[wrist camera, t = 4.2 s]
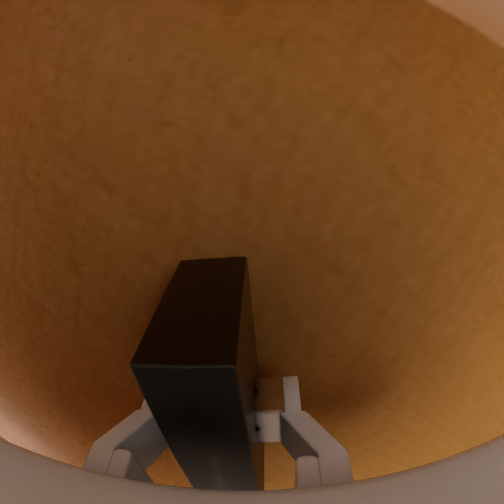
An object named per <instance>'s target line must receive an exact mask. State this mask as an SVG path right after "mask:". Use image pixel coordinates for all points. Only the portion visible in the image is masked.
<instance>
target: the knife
mask: <svg viewBox="0 0 504 504" xmlns="http://www.w3.org/2000/svg"><path fill="white" fill-rule="evenodd" d="M130 367H131V370H132V372H133V374H134V377H135V379H136V381H137V383H138V386H139V388H140V390H141V392H142V394H143V396H144V399H145V401H146V403H147V405H148V407H149V409H150V411H151V413H152V415H153V417H154V419H155V421H156V423H157V425H158V427H159V429H160V431H161V433H162V435H163V436H164V438H165V440H166V442H167V444H168V446H169V447H170V449H171V451H172V453H173V455H174V456H175V458H176V460H177V462H178V463H179V465H180V467H181V468H182V470H183V472H184V473H185V475H186V477H187V478H188V480H189V482H190V483H191V485H192V486H193V488H198V489H213V490H264V442H258V439H257V432H256V428H257V426H256V425H255V419H254V396H255V389H254V386H255V378H259V371H258V362H257V352H256V343H255V334H254V324H253V315H252V305H251V295H250V286H249V276H248V266H247V258H246V257H231V258H216V259H201V260H186V261H181V262H180V263H179V265H178V267H177V269H176V271H175V273H174V275H173V277H172V279H171V281H170V283H169V285H168V286H167V288H166V290H165V292H164V294H163V296H162V298H161V300H160V302H159V304H158V306H157V308H156V310H155V313H154V315H153V317H152V319H151V321H150V323H149V325H148V327H147V329H146V331H145V333H144V335H143V337H142V339H141V342H140V344H139V346H138V348H137V350H136V352H135V354H134V357H133V359H132V361H131V363H130Z"/></svg>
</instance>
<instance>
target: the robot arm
mask: <svg viewBox="0 0 504 504" xmlns="http://www.w3.org/2000/svg"><path fill="white" fill-rule="evenodd" d="M254 389H255V396H254V419H255V425H256V426H257V428H256V432H257V439H258V442H281V443H282V444H283V446H284V447H285V448H286V450H287V451H288V452H289V453H290V455H291V456H292V457H293V459H294V460H295V461H296V470H295V488H294V489H282V490H213V489H198V488H187V487H177V486H169V485H161V484H154V482H153V481H152V480H151V478H150V477H149V476H148V474H147V473H146V472H145V471H146V469H147V468H148V467H149V466H150V465H151V464H152V463H153V462H154V461H155V460H156V459H157V458H158V457H159V456H160V455H161V454H162V453H163V452H164V451H165V449H166V448H167V447H168V444H167V442H166V440H165V438H164V436H163V435H162V433H161V431H160V429H159V427H158V425H157V423H156V421H155V419H154V417H153V415H152V413H151V411H150V409H149V407H148V405H147V403H146V401H145V399H144V401H143V403H142V406H141V409H140V410H136V411H134V412H133V413H132V414H130V415H129V416H128V417H126V418H125V419H124V420H122V421H121V422H120V423H118V424H117V425H116V426H114V427H113V428H112V429H110V430H109V431H108V432H106V433H105V434H104V435H102V436H101V437H100V438H98V439H97V440H96V441H94V442H93V444H92V446H91V449H90V451H89V454H88V456H87V459H86V461H85V464H84V466H83V468H80V467H76V466H73V465H70V464H66V463H63V462H60V461H57V460H54V459H51V458H48V457H45V456H43V455H40V454H37V453H34V452H32V451H29V450H27V449H24V448H22V447H19V446H17V445H14V444H12V443H10V442H8V441H5V440H3V439H1V438H0V504H504V434H503V435H501V436H499V437H497V438H495V439H492V440H490V441H488V442H486V443H483V444H481V445H479V446H476V447H474V448H471V449H469V450H466V451H463V452H461V453H458V454H455V455H453V456H450V457H447V458H444V459H441V460H438V461H435V462H432V463H429V464H425V465H422V466H419V467H415V468H412V469H408V470H404V471H400V472H396V473H392V474H388V475H384V476H379V477H374V478H369V479H364V480H359V481H353V476H352V470H351V465H350V460H349V454H348V450H347V449H346V448H345V447H344V446H343V445H341V444H340V443H339V442H338V441H337V440H336V439H335V438H334V437H333V436H332V435H331V434H330V433H328V432H327V431H326V430H325V429H324V428H323V427H322V426H321V425H320V424H319V423H318V422H317V421H316V420H315V419H314V418H313V417H312V416H311V415H310V414H309V413H308V412H307V411H301V402H300V393H299V384H298V377H297V376H287V377H283V378H282V377H272V378H255V386H254Z"/></svg>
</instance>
